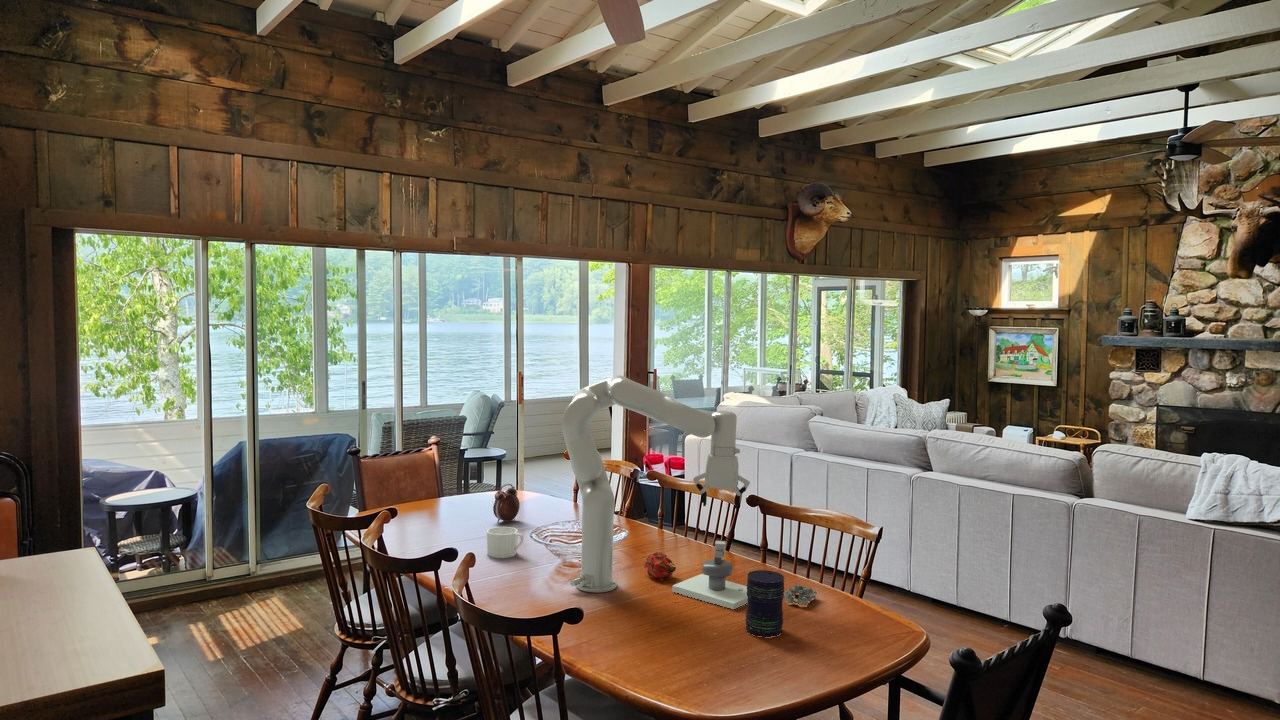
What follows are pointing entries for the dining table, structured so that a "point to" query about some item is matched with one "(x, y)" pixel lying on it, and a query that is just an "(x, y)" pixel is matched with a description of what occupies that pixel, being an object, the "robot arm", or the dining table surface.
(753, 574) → the storage jar
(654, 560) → the dragon fruit
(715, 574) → the grey lever knob
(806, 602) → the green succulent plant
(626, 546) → the dining table surface
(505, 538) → the mug
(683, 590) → the base
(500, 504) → the alarm clock
